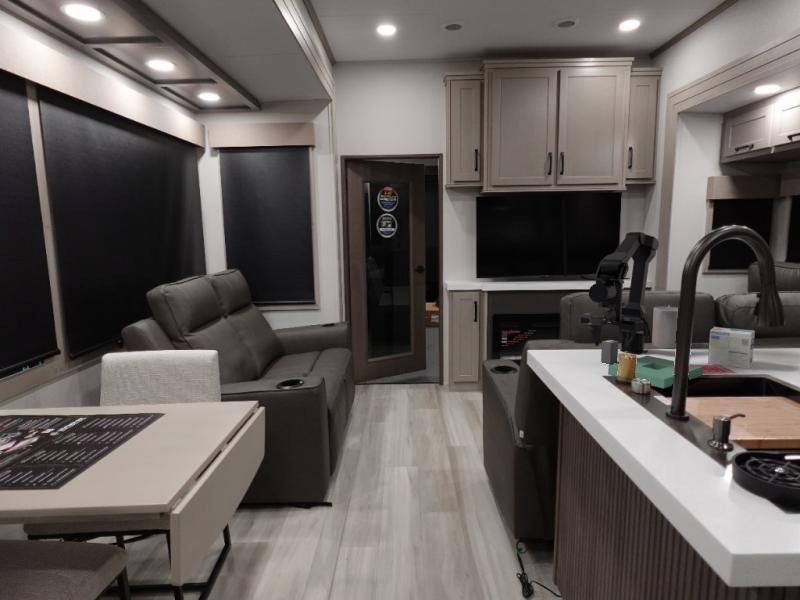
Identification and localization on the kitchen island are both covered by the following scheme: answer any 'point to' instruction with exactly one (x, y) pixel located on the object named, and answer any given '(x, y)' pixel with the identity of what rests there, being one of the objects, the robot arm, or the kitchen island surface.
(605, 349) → the plug block
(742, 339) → the light bulb box
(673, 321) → the pillar candle
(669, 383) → the socket board
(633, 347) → the robot arm
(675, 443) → the kitchen island surface
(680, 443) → the kitchen island surface
